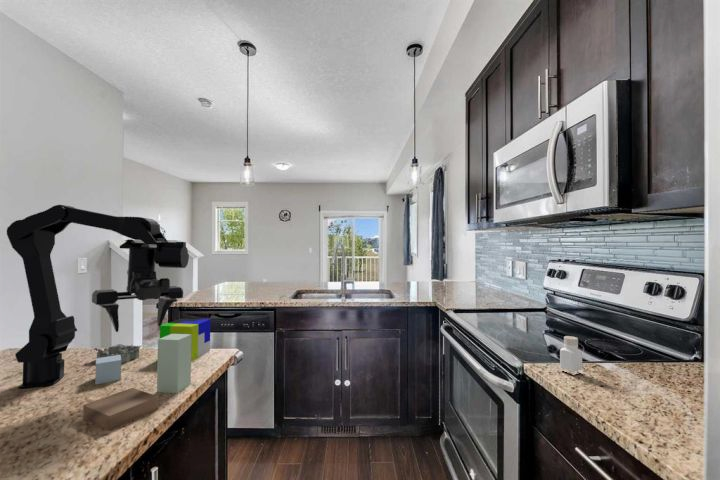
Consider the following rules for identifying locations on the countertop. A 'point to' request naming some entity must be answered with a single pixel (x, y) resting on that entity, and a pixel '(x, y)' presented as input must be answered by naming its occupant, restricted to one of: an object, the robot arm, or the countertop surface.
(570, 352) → the salt shaker
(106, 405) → the walnut base block
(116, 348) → the egg carton
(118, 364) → the slate painted cube
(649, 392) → the countertop surface
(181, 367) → the sage pillar block
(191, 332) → the puzzle toy
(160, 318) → the robot arm
